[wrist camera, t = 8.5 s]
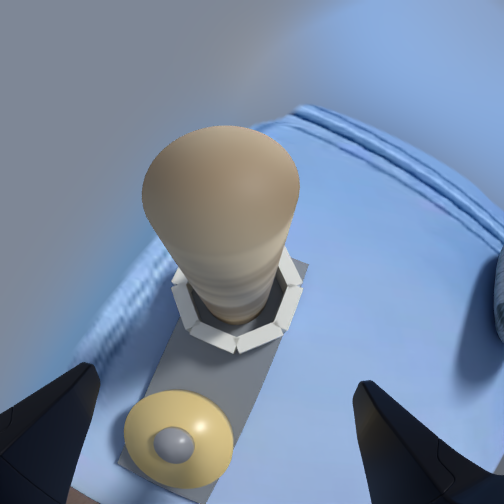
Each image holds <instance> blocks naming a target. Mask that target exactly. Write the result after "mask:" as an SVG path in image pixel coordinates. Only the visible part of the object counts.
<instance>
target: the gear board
mask: <svg viewBox="0 0 504 504" xmlns="http://www.w3.org/2000/svg"><path fill="white" fill-rule="evenodd" d="M308 265H309V264H306V263H303V262H301V261H298V260H296V259H293V258H291V257H290V255H289V253H288V251H287V249H286V247H285V245H284V248H283V251H282V255H281V258H280V261H279V264H278V268H277V271H276V274H275V277H274V280H273V284H272V287H271V290H270V293H269V296H268V299H267V303H266V306H265V308H264V310H263V311H262V313H261V314H260V315H259V316H258V317H257V318H255V319H254V320H253V321H251V322H249V323H246V324H241V325H231V324H227V323H224V322H222V321H220V320H218V319H217V318H216V317H214V316H213V315H212V313H211V312H210V311H209V309H208V308H207V307H206V305H205V304H204V303H203V301H202V300H201V298H200V297H199V296H198V294H197V293H196V291H195V290H194V288H193V287H192V286H191V284H190V283H189V281H188V280H187V278H186V277H185V276H184V274H183V273H182V271H181V270H180V268H179V267H178V269H177V271H176V273H175V275H174V277H173V279H172V281H171V282H172V283H173V285H174V286H173V287H171V290H172V293H173V296H174V299H175V302H176V305H177V308H178V311H179V313H180V318H179V320H178V322H177V324H176V326H175V328H174V331H173V333H172V335H171V337H170V339H169V342H168V344H167V346H166V348H165V350H164V353H163V355H162V357H161V359H160V362H159V364H158V366H157V368H156V371H155V373H154V375H153V378H152V380H151V382H150V385H149V387H148V389H147V392H146V394H145V396H144V398H143V399H142V400H140V401H139V402H138V403H136V404H135V405H134V407H133V408H132V409H131V410H130V412H129V414H128V416H127V418H126V421H125V426H124V439H125V445H124V447H123V450H122V453H121V455H120V458H119V460H118V464H119V465H121V466H123V467H124V468H126V469H128V470H130V471H131V472H133V473H135V474H137V475H139V476H140V477H142V478H144V479H146V480H148V481H150V482H152V483H154V484H156V485H158V486H160V487H162V488H164V489H166V490H169V491H171V492H173V493H175V494H178V495H180V496H182V497H185V498H187V499H190V500H192V501H195V502H197V503H200V504H206V502H207V500H208V498H209V496H210V494H211V493H212V491H213V489H214V487H215V485H216V483H217V481H218V479H219V477H220V476H222V474H223V473H224V472H225V471H226V469H227V468H228V466H229V464H230V461H231V458H232V453H233V449H234V447H235V445H236V443H237V441H238V438H239V436H240V434H241V432H242V430H243V428H244V426H245V423H246V421H247V419H248V417H249V415H250V412H251V410H252V408H253V406H254V403H255V401H256V399H257V396H258V394H259V392H260V390H261V387H262V385H263V382H264V380H265V378H266V375H267V373H268V371H269V368H270V366H271V363H272V361H273V358H274V356H275V353H276V351H277V348H278V346H279V343H280V341H281V338H282V336H283V334H284V333H285V332H286V331H288V329H289V326H290V323H291V321H292V318H293V316H294V313H295V310H296V307H297V305H298V302H299V299H300V296H301V294H302V291H303V288H301V285H302V283H303V279H304V277H305V274H306V271H307V268H308Z"/></svg>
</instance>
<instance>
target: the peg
mask: <svg viewBox="0 0 504 504" xmlns="http://www.w3.org/2000/svg"><path fill="white" fill-rule="evenodd" d="M299 190H300V183H299V175H298V171H297V168H296V166H295V163H294V162H293V160H292V158H291V156H290V155H289V154H288V153H287V151H286V150H285V149H284V148H283V147H282V146H281V145H280V144H279V143H277V142H276V141H275V140H273V139H272V138H270V137H268V136H267V135H265V134H262V133H260V132H258V131H255V130H252V129H249V128H244V127H238V126H213V127H208V128H203V129H200V130H196V131H193V132H190V133H188V134H186V135H184V136H182V137H180V138H178V139H176V140H175V141H173V142H172V143H171V144H169V145H168V146H167V147H166V148H164V149H163V150H162V151H161V152H160V153H159V154H158V156H157V157H156V158H155V159H154V160H153V162H152V164H151V165H150V167H149V169H148V171H147V173H146V175H145V179H144V182H143V188H142V203H143V208H144V211H145V214H146V217H147V218H148V220H149V222H150V224H151V225H152V227H153V229H154V230H155V232H156V233H157V235H158V236H159V238H160V240H161V241H162V243H163V244H164V246H165V247H166V249H167V250H168V252H169V253H170V255H171V256H172V258H173V259H174V261H175V262H176V264H177V265H178V267H179V268H180V270H181V271H182V273H183V274H184V276H185V277H186V278H187V280H188V281H189V283H190V284H191V286H192V287H193V288H194V290H195V291H196V293H197V294H198V296H199V297H200V298H201V300H202V301H203V303H204V304H205V305H206V307H207V308H208V309H209V311H210V312H211V313H212V315H213V316H214V317H216V318H217V319H218V320H220V321H222V322H224V323H227V324H231V325H241V324H246V323H249V322H251V321H253V320H254V319H255V318H257V317H258V316H259V315H260V314H261V313H262V311H263V310H264V308H265V306H266V303H267V299H268V296H269V293H270V290H271V287H272V284H273V280H274V277H275V274H276V271H277V268H278V264H279V261H280V258H281V255H282V251H283V248H284V245H285V241H286V238H287V235H288V231H289V228H290V225H291V221H292V218H293V215H294V211H295V208H296V204H297V201H298V197H299Z"/></svg>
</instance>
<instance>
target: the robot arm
mask: <svg viewBox="0 0 504 504" xmlns="http://www.w3.org/2000/svg"><path fill="white" fill-rule="evenodd" d="M99 388H100V379H99V376H98V374H97V371H96V369H95V366H94V365H93V364H90V363H86V362H82V363H80V364H79V365H77V366H76V367H74V368H72V369H71V370H69V371H68V372H66V373H65V374H63V375H61V376H60V377H58V378H57V379H55V380H54V381H52V382H51V383H49V384H47V385H46V386H44V387H43V388H41V389H40V390H38V391H36V392H35V393H33V394H31V395H30V396H28V397H27V398H25V399H24V400H22V401H21V402H19V403H17V404H16V405H14V407H11V408H9V409H8V410H6V411H4V412H3V413H1V414H0V504H66V501H67V497H68V493H69V490H70V486H71V482H72V479H73V475H74V472H75V469H76V465H77V462H78V459H79V456H80V452H81V449H82V446H83V443H84V440H85V437H86V434H87V432H88V429H89V426H90V423H91V420H92V416H93V412H94V408H95V404H96V400H97V396H98V392H99ZM353 409H354V416H355V424H356V433H357V439H358V444H359V448H360V452H361V457H362V461H363V465H364V469H365V474H366V478H367V483H368V488H369V492H370V497H371V502H372V504H504V475H496V474H492V473H490V472H488V471H486V470H484V469H483V468H481V467H479V466H478V465H476V464H475V463H473V462H471V461H470V460H468V459H467V458H465V457H464V456H462V455H461V454H459V453H458V452H456V451H455V450H454V449H452V448H451V447H450V446H449V445H447V444H446V443H445V442H444V441H442V440H441V439H440V438H438V436H436V435H435V434H434V433H433V432H432V431H430V430H429V429H428V428H427V427H426V426H425V425H423V424H422V423H421V422H420V421H419V420H417V419H416V418H415V417H414V416H413V415H412V414H410V413H409V412H408V411H407V410H406V409H405V408H403V407H402V406H401V405H400V404H399V403H398V402H396V401H395V400H394V399H393V398H392V397H391V396H389V395H388V394H387V393H386V392H385V391H384V390H383V389H381V388H380V387H379V386H378V385H377V384H376V383H374V382H373V381H371V380H367V381H361V382H360V383H359V384H358V387H357V389H356V391H355V393H354V396H353Z"/></svg>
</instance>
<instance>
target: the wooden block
mask: <svg viewBox="0 0 504 504" xmlns="http://www.w3.org/2000/svg"><path fill="white" fill-rule="evenodd" d="M66 504H100V503H98V502H96V501H94V500H92V499H91V498H89V497H87V496H86V495H84V494H82V493H81V492H79V491H77V490H76V489H74V488H72V487H70V490H69V493H68V497H67V501H66Z"/></svg>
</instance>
